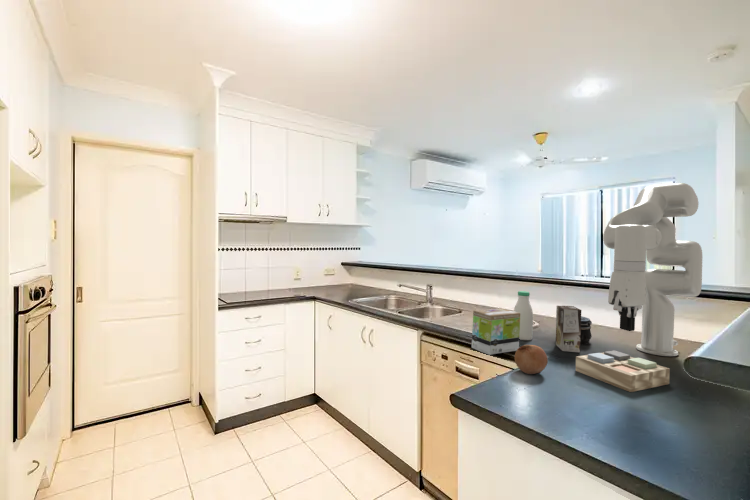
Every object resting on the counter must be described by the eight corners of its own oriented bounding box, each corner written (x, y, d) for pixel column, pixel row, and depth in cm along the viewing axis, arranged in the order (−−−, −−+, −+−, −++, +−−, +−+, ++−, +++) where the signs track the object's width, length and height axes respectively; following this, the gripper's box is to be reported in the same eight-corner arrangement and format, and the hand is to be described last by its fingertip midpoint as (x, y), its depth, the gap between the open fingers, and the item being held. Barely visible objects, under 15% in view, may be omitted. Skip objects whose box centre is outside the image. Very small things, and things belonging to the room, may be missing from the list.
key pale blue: (598, 361, 114) (598, 352, 114) (613, 367, 109) (614, 357, 109) (587, 363, 112) (587, 354, 112) (602, 369, 107) (602, 359, 107)
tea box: (490, 356, 127) (491, 315, 126) (471, 348, 135) (471, 310, 135) (519, 350, 133) (521, 311, 133) (499, 343, 142) (500, 307, 142)
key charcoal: (614, 359, 117) (614, 350, 116) (629, 364, 112) (630, 355, 112) (603, 361, 115) (604, 351, 115) (619, 366, 110) (619, 356, 110)
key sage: (638, 367, 110) (638, 357, 109) (656, 372, 105) (656, 362, 105) (627, 369, 108) (627, 359, 108) (645, 374, 103) (645, 364, 103)
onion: (521, 384, 109) (509, 356, 108) (520, 366, 118) (509, 340, 116) (554, 378, 105) (542, 349, 104) (550, 360, 114) (539, 333, 112)
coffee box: (580, 352, 132) (582, 309, 132) (562, 351, 133) (563, 308, 133) (572, 345, 141) (573, 305, 141) (554, 344, 142) (556, 304, 142)
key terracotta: (621, 375, 107) (622, 365, 107) (639, 381, 102) (639, 371, 102) (610, 377, 105) (610, 367, 105) (627, 383, 100) (628, 373, 100)
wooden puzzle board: (611, 364, 120) (612, 351, 119) (669, 384, 104) (669, 368, 104) (575, 370, 113) (576, 356, 113) (630, 392, 97) (631, 375, 97)
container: (580, 347, 139) (581, 322, 139) (550, 339, 150) (550, 315, 150) (598, 343, 146) (598, 319, 146) (567, 335, 157) (568, 313, 157)
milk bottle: (533, 337, 152) (534, 291, 152) (530, 341, 146) (532, 293, 145) (514, 334, 156) (515, 289, 156) (511, 338, 150) (512, 291, 149)
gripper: (632, 266, 109) (630, 325, 110) (599, 266, 104) (596, 328, 104) (659, 267, 102) (657, 331, 103) (625, 268, 97) (622, 335, 97)
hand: (627, 329), depth 103 cm, fingers closed
